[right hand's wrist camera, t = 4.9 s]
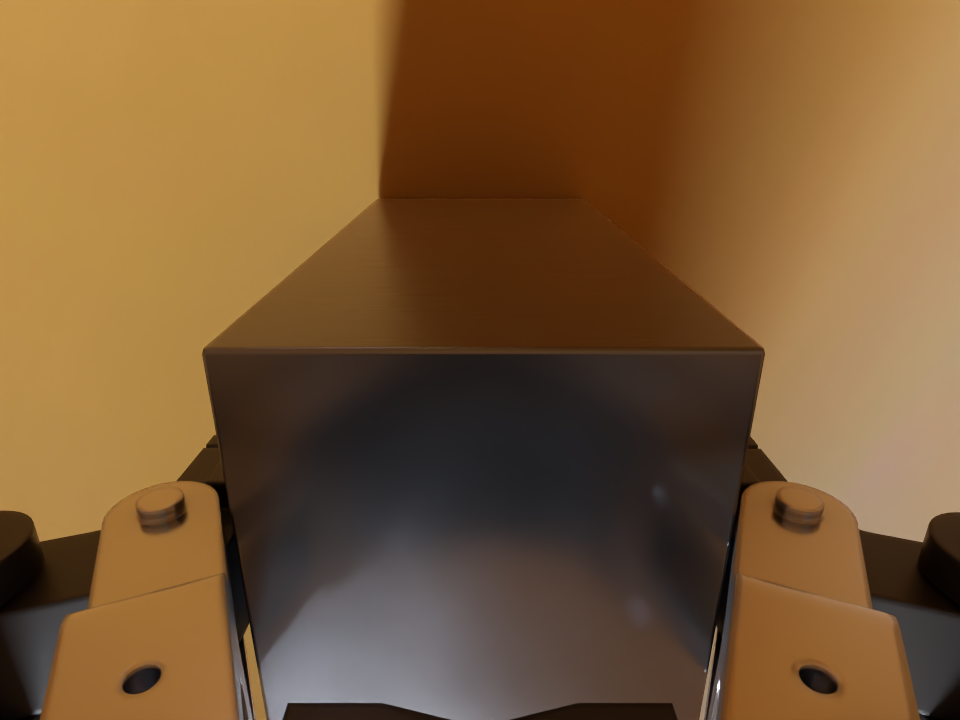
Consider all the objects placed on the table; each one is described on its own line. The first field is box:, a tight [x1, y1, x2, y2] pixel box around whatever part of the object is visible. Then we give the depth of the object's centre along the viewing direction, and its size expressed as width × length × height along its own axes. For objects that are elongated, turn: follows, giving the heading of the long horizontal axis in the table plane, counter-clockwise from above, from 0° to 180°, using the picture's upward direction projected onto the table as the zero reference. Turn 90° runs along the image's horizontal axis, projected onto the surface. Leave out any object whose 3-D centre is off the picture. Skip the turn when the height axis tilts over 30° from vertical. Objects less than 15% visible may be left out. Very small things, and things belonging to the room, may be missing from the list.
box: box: [202, 198, 765, 720], centre depth 16 cm, size 25×6×12 cm, turn 0°
